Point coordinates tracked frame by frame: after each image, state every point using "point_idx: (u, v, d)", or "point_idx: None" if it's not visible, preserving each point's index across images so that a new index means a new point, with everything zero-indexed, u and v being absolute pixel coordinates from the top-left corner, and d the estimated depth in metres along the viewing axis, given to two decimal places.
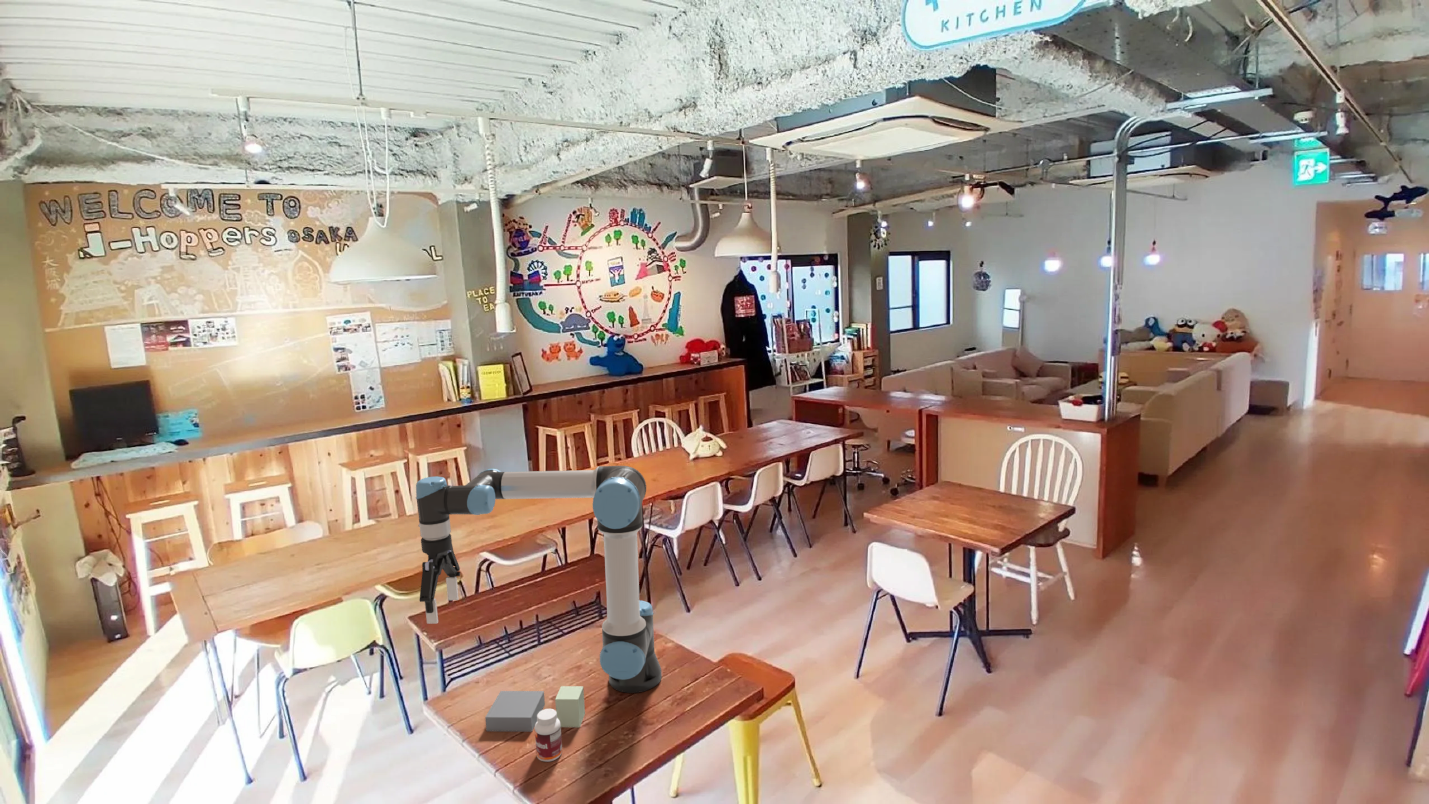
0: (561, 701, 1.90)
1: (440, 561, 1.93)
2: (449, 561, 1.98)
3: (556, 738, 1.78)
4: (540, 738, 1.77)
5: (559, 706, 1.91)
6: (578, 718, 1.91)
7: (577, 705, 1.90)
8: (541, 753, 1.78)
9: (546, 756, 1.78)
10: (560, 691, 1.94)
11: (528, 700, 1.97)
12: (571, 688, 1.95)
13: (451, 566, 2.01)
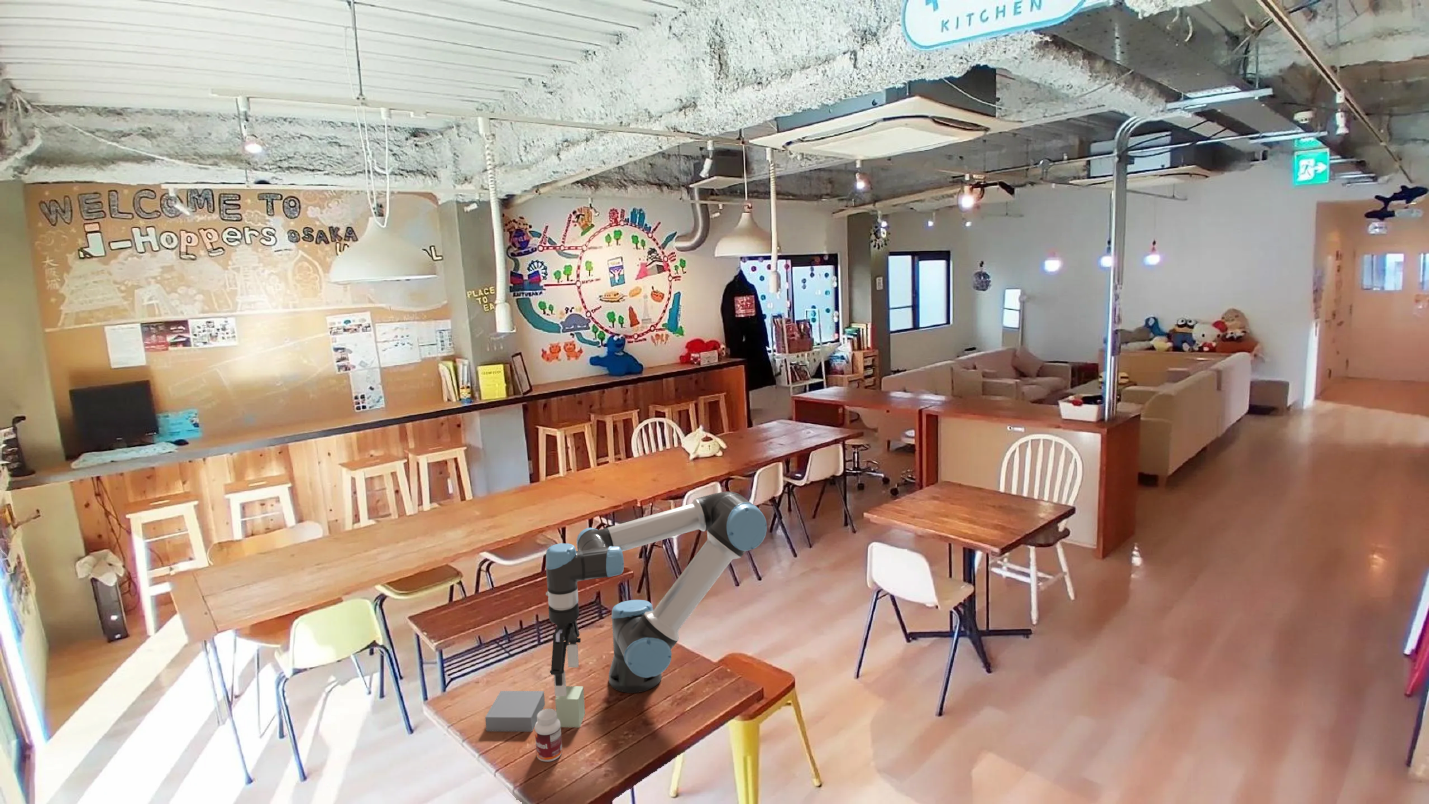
0: (561, 701, 1.90)
1: (568, 631, 1.88)
2: (574, 629, 1.93)
3: (556, 738, 1.78)
4: (540, 738, 1.77)
5: (559, 706, 1.91)
6: (578, 718, 1.91)
7: (577, 705, 1.90)
8: (541, 753, 1.78)
9: (546, 756, 1.78)
10: None
11: (528, 700, 1.97)
12: (571, 688, 1.95)
13: (574, 633, 1.95)
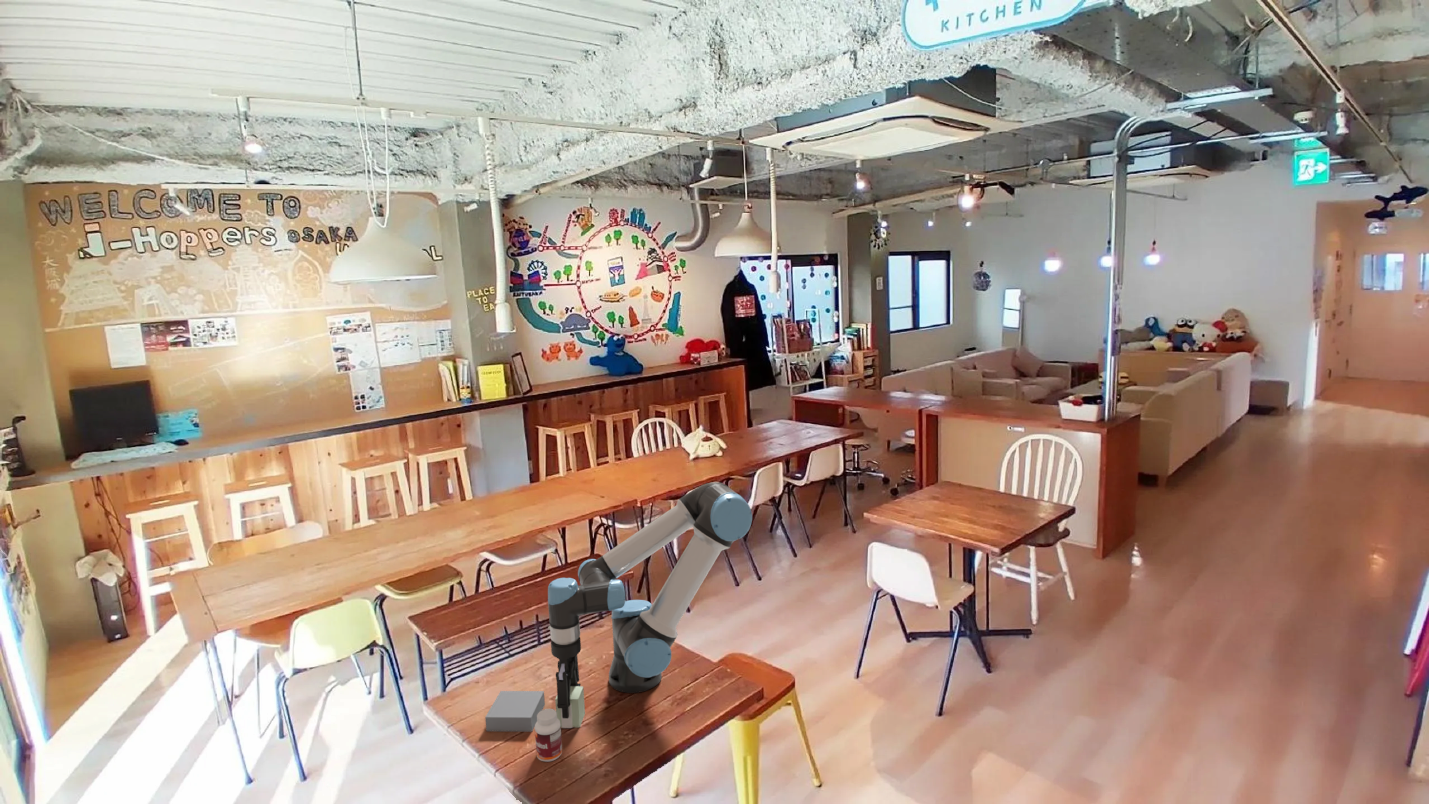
0: None
1: (570, 665, 1.90)
2: (575, 665, 1.94)
3: (556, 738, 1.78)
4: (540, 738, 1.77)
5: None
6: (578, 718, 1.91)
7: (577, 705, 1.90)
8: (541, 753, 1.78)
9: (546, 756, 1.78)
10: None
11: (528, 700, 1.97)
12: (571, 688, 1.95)
13: (575, 673, 1.95)
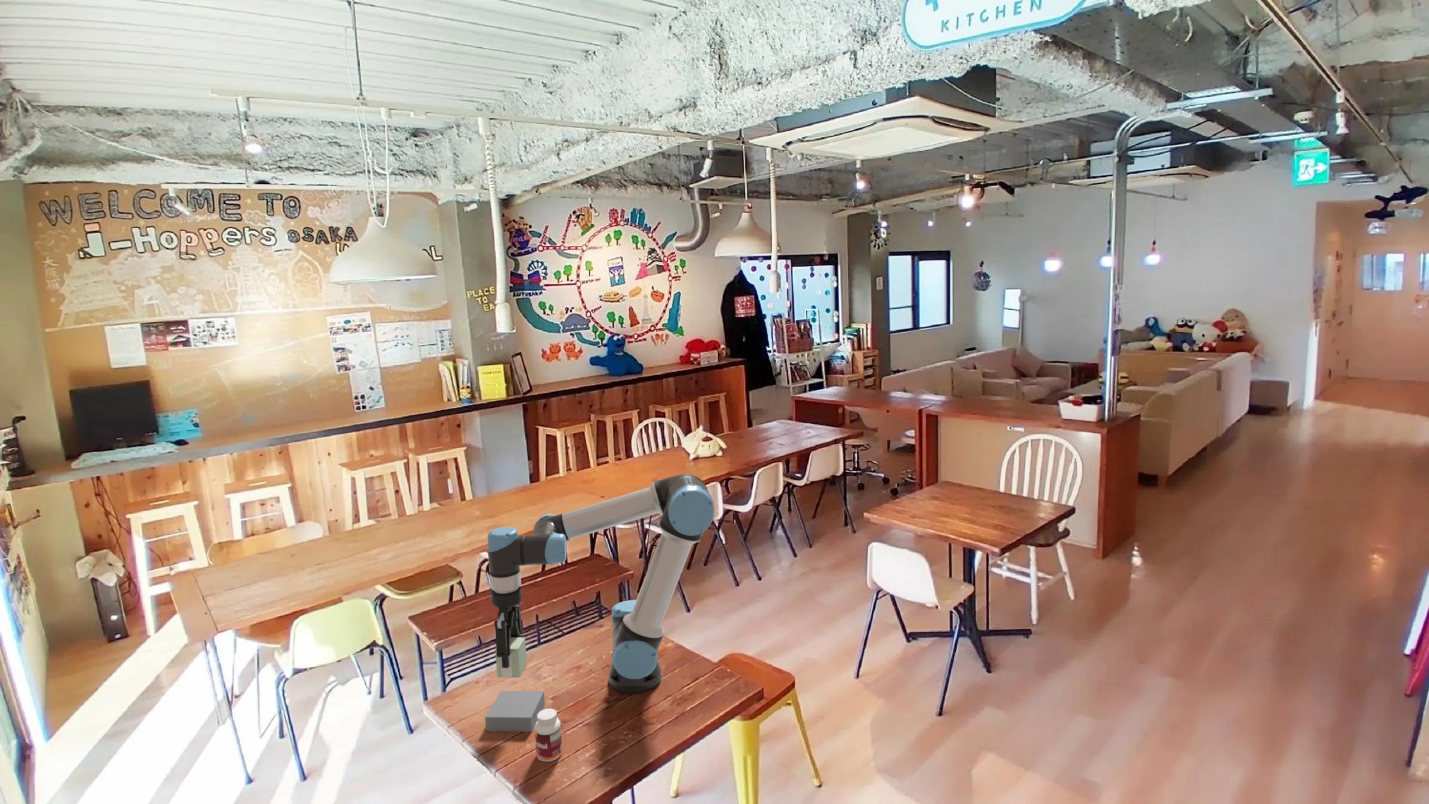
0: None
1: (510, 615, 1.89)
2: (517, 616, 1.93)
3: (556, 738, 1.78)
4: (540, 738, 1.77)
5: None
6: (518, 668, 1.90)
7: (517, 655, 1.90)
8: (541, 753, 1.78)
9: (546, 756, 1.78)
10: None
11: (528, 700, 1.97)
12: (512, 639, 1.94)
13: (517, 624, 1.95)
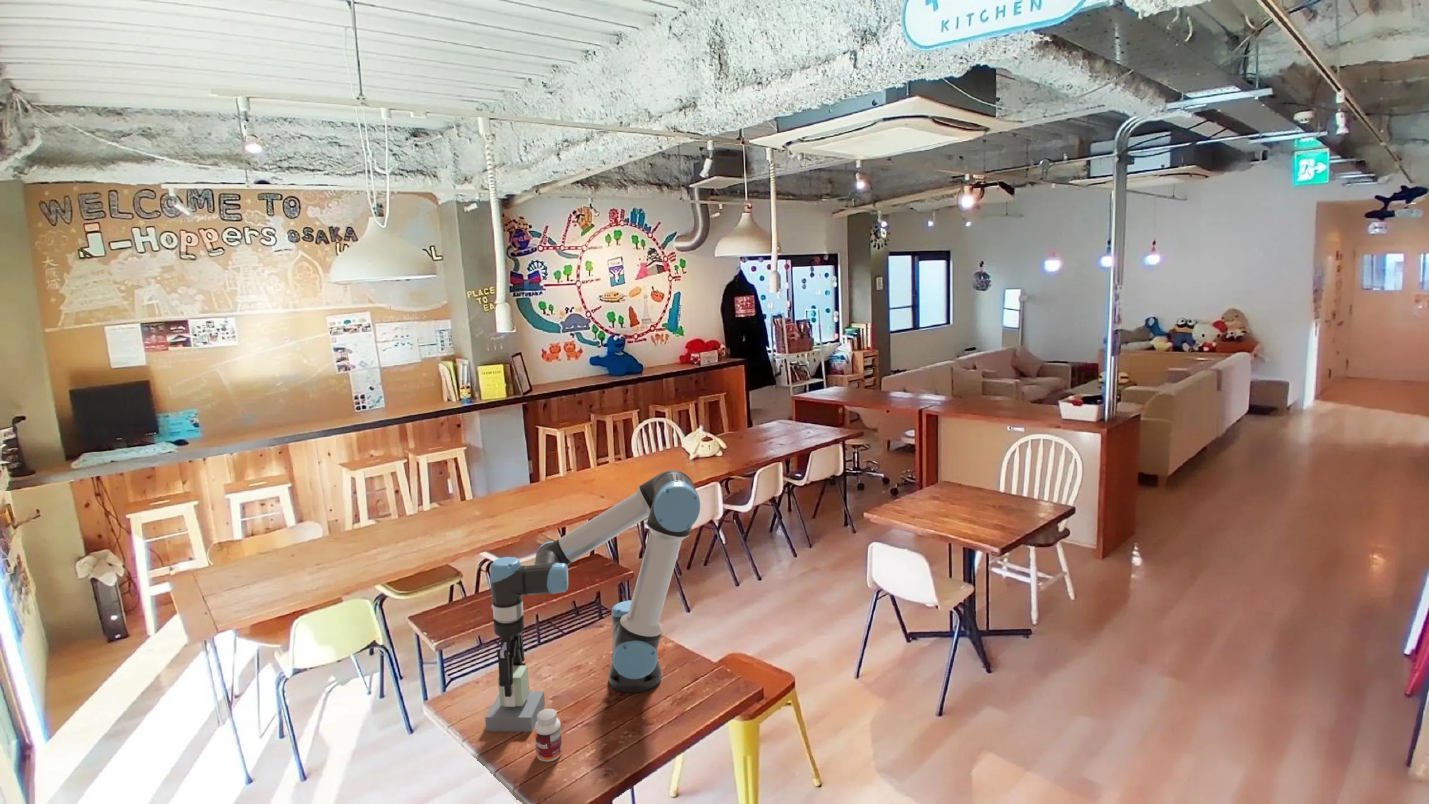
0: None
1: (513, 644, 1.90)
2: (519, 644, 1.95)
3: (556, 738, 1.78)
4: (540, 738, 1.77)
5: None
6: (521, 697, 1.92)
7: (520, 684, 1.91)
8: (541, 753, 1.78)
9: (546, 756, 1.78)
10: None
11: (528, 700, 1.97)
12: (514, 667, 1.96)
13: (519, 652, 1.96)
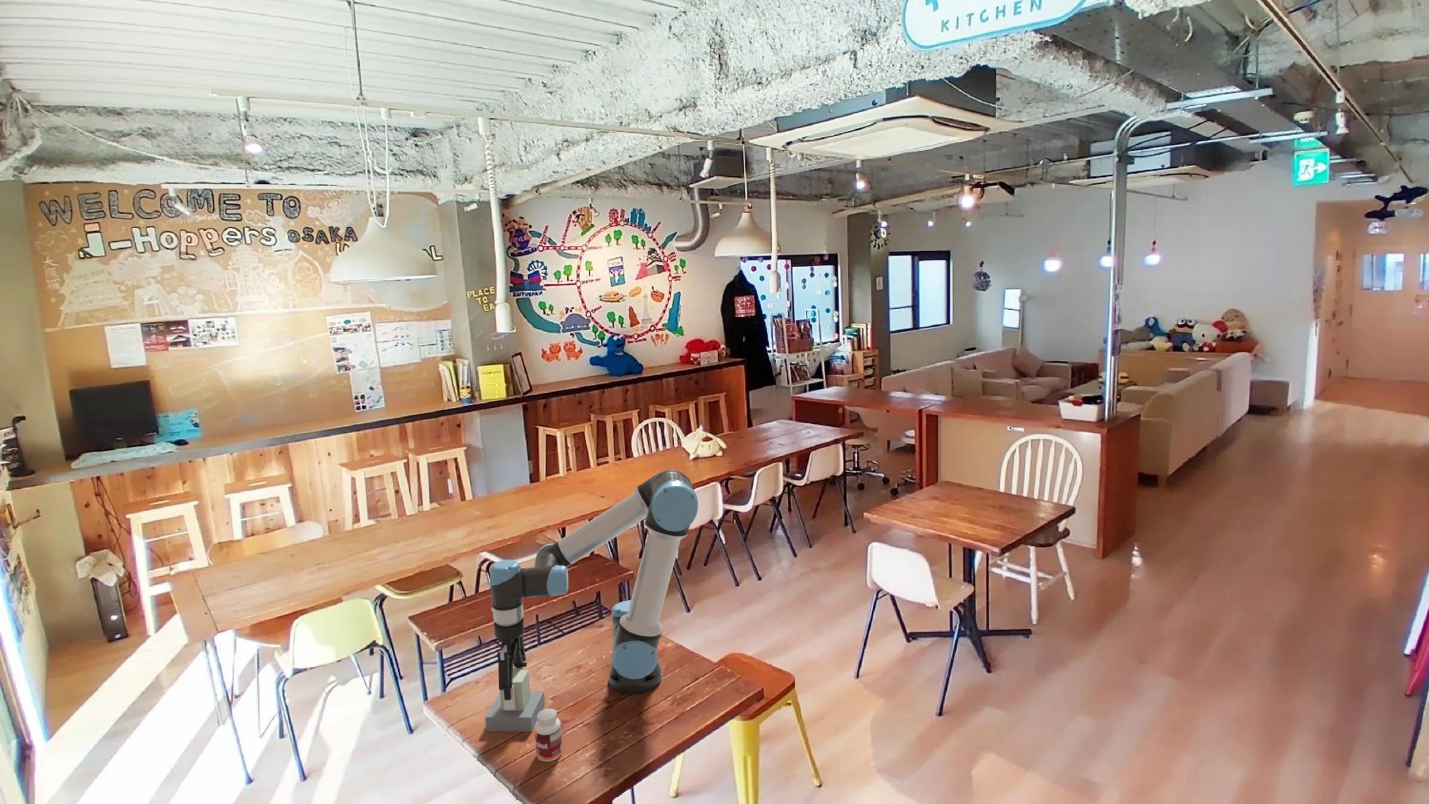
0: None
1: (513, 646, 1.91)
2: (520, 646, 1.95)
3: (556, 738, 1.78)
4: (540, 738, 1.77)
5: None
6: (522, 701, 1.92)
7: (521, 688, 1.91)
8: (541, 753, 1.78)
9: (546, 756, 1.78)
10: None
11: None
12: (515, 672, 1.96)
13: (520, 654, 1.97)
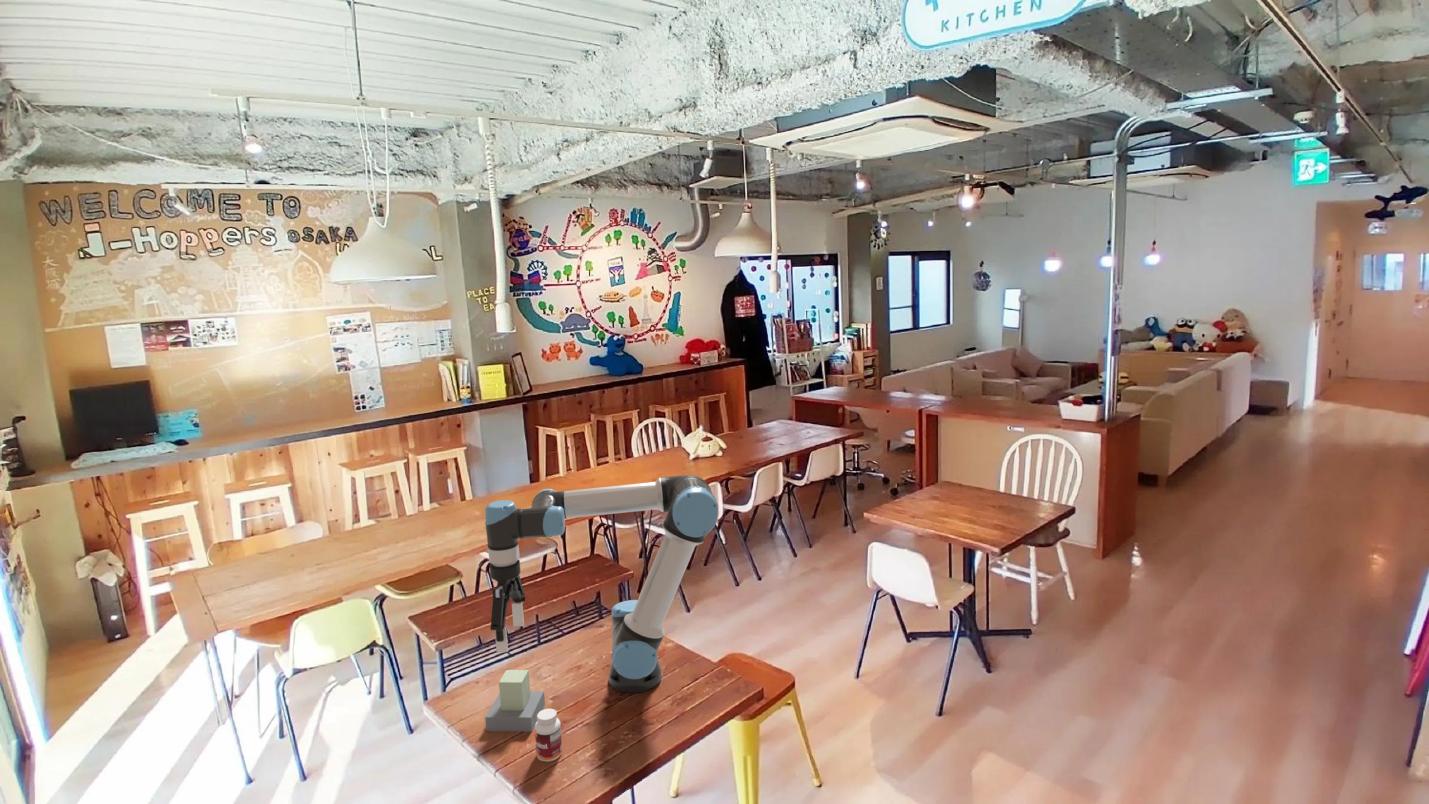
0: (504, 684, 1.91)
1: (509, 587, 1.88)
2: (516, 587, 1.93)
3: (556, 738, 1.78)
4: (540, 738, 1.77)
5: (503, 690, 1.92)
6: (522, 701, 1.92)
7: (521, 688, 1.91)
8: (541, 753, 1.78)
9: (546, 756, 1.78)
10: (505, 674, 1.95)
11: None
12: (515, 672, 1.96)
13: (518, 591, 1.95)
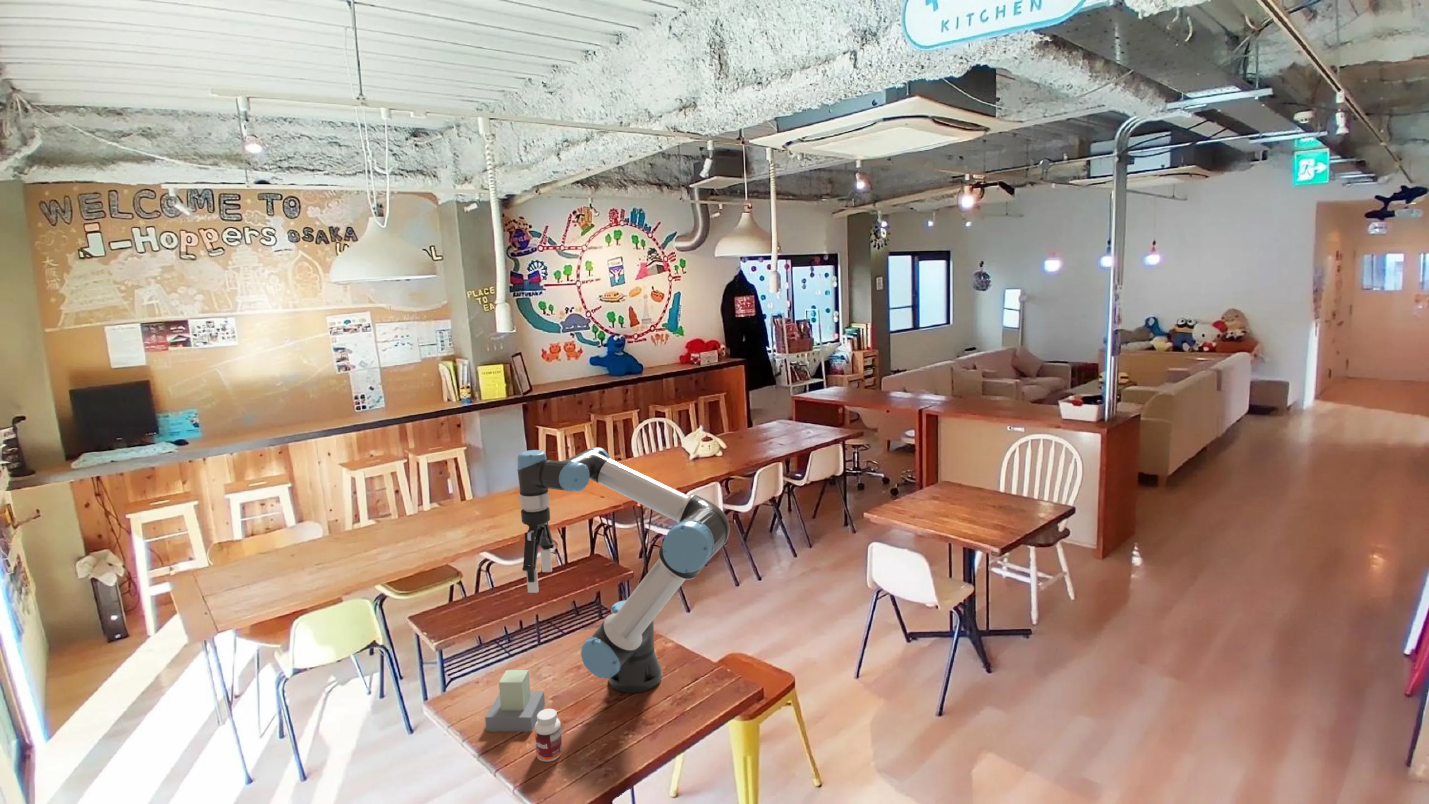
0: (504, 684, 1.91)
1: (539, 532, 1.98)
2: (546, 533, 2.03)
3: (556, 738, 1.78)
4: (540, 738, 1.77)
5: (503, 690, 1.92)
6: (522, 701, 1.92)
7: (521, 688, 1.91)
8: (541, 753, 1.78)
9: (546, 756, 1.78)
10: (505, 674, 1.95)
11: None
12: (515, 672, 1.96)
13: (547, 538, 2.06)
